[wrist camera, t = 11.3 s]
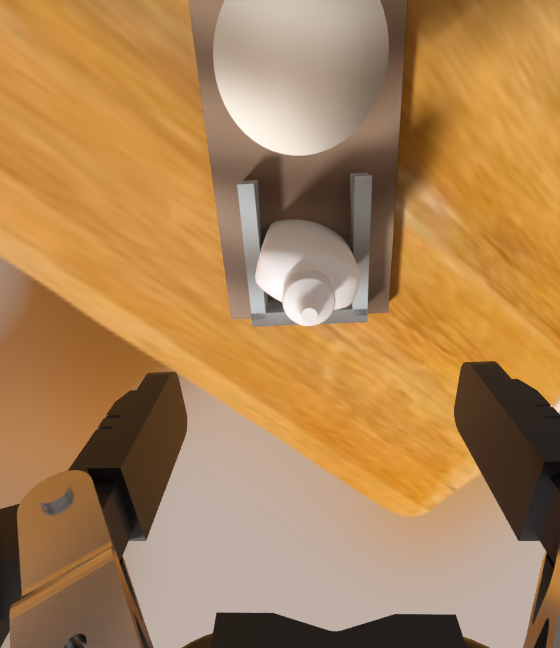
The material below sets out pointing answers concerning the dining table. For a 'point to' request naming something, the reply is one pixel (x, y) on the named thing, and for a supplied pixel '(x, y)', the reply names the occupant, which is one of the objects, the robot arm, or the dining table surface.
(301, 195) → the board
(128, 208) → the dining table surface
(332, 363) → the dining table surface
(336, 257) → the eye dropper bottle
